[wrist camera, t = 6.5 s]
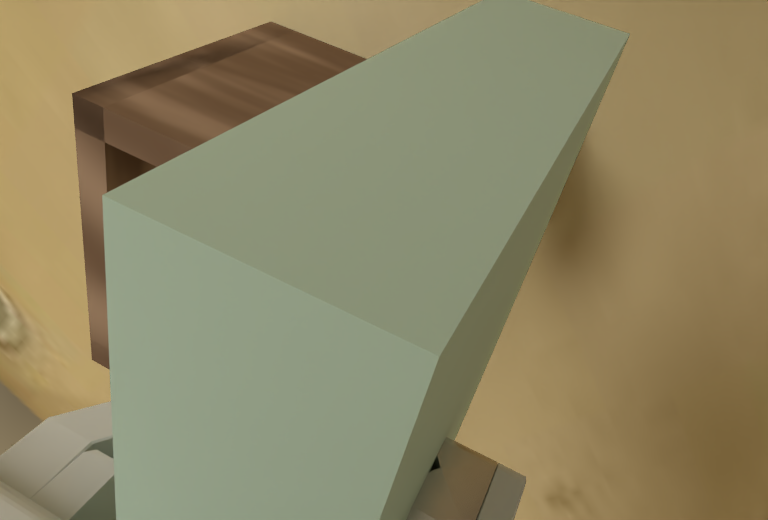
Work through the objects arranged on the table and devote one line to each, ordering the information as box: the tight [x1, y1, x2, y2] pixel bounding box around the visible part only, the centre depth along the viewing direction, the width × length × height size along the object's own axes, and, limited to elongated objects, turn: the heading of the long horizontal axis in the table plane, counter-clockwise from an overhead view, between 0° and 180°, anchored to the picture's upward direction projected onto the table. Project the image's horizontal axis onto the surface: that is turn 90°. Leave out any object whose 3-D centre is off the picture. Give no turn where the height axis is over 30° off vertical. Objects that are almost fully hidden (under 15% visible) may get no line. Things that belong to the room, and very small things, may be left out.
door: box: [102, 0, 630, 520], centre depth 12 cm, size 13×4×10 cm, turn 168°
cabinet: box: [72, 22, 367, 369], centre depth 33 cm, size 17×16×14 cm
